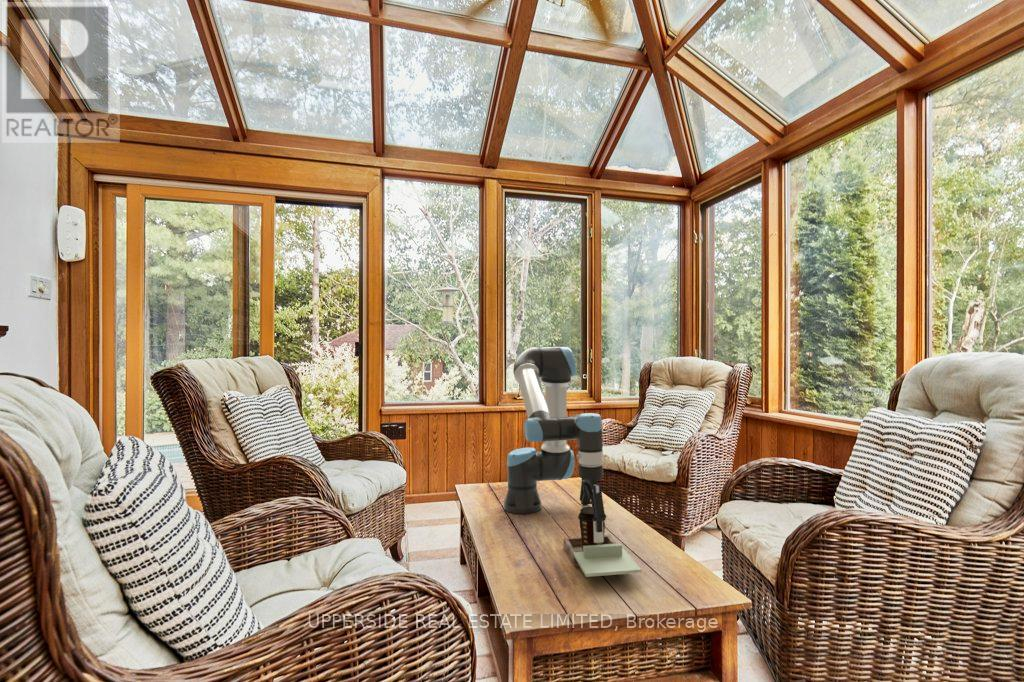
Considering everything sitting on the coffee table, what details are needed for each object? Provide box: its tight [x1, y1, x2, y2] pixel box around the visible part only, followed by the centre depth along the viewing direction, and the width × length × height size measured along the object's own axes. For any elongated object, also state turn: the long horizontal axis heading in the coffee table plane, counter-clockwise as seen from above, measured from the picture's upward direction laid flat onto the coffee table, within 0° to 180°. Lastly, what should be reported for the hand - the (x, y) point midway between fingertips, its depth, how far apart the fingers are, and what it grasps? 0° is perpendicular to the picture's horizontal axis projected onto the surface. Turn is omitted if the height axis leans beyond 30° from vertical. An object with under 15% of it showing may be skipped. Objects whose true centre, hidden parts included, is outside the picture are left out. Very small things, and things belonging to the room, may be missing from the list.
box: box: [563, 534, 617, 568], centre depth 154 cm, size 14×15×3 cm
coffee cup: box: [577, 506, 607, 552], centre depth 154 cm, size 9×8×13 cm
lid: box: [574, 542, 642, 578], centre depth 140 cm, size 14×15×4 cm
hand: (592, 533), depth 154 cm, fingers open, 13 cm apart
